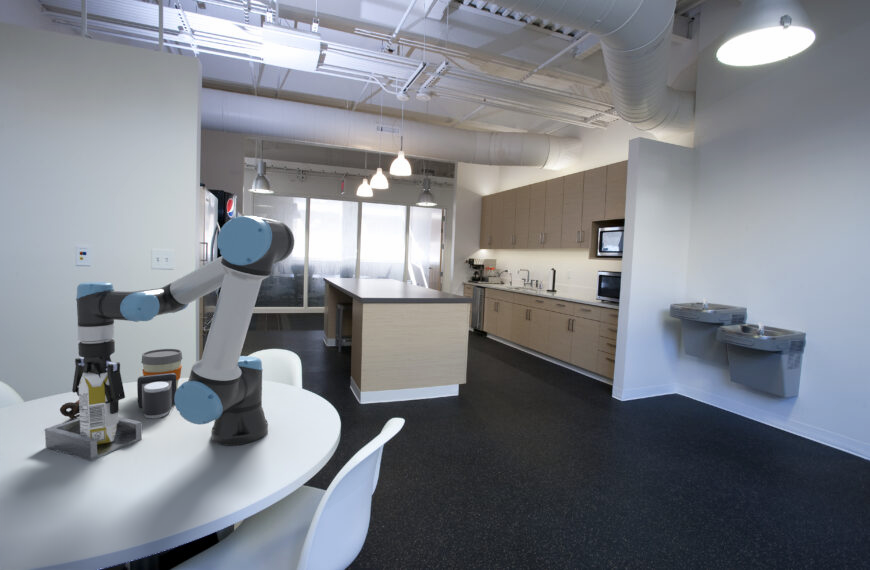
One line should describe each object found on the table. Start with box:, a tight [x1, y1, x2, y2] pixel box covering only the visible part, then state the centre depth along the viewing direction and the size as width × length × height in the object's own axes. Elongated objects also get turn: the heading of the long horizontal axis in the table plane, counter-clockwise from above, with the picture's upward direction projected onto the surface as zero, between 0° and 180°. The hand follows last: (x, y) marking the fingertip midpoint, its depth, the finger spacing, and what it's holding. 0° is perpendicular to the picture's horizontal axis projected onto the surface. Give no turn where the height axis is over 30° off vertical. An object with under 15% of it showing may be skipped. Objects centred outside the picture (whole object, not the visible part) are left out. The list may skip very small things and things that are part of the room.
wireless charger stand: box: [136, 373, 176, 419], centre depth 136 cm, size 11×13×11 cm
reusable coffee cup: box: [140, 348, 183, 390], centre depth 152 cm, size 13×13×15 cm
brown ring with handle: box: [59, 399, 80, 420], centre depth 129 cm, size 12×10×8 cm
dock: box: [44, 416, 143, 461], centre depth 114 cm, size 18×13×5 cm
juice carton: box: [78, 372, 117, 444], centre depth 112 cm, size 8×9×19 cm
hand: (99, 421), depth 113 cm, fingers closed on juice carton, 9 cm apart
